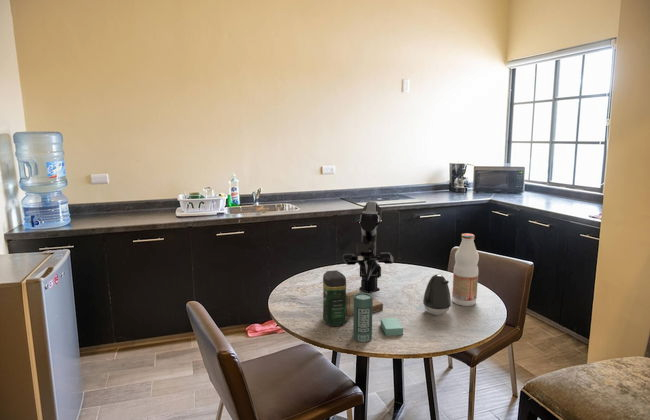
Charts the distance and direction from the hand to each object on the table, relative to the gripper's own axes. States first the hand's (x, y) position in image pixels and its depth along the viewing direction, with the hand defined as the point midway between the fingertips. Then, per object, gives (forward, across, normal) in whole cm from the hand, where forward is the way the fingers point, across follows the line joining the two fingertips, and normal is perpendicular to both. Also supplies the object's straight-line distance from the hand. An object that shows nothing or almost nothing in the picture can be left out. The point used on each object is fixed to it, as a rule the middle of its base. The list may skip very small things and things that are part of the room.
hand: (366, 280), depth 168 cm
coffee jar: (+16, -11, -2) cm, 20 cm away
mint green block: (+15, +9, +1) cm, 17 cm away
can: (+23, +2, -8) cm, 25 cm away
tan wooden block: (+11, -7, +5) cm, 14 cm away
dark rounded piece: (+8, +24, +16) cm, 30 cm away
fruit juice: (+1, +33, +28) cm, 44 cm away
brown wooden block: (+5, -4, +12) cm, 14 cm away
